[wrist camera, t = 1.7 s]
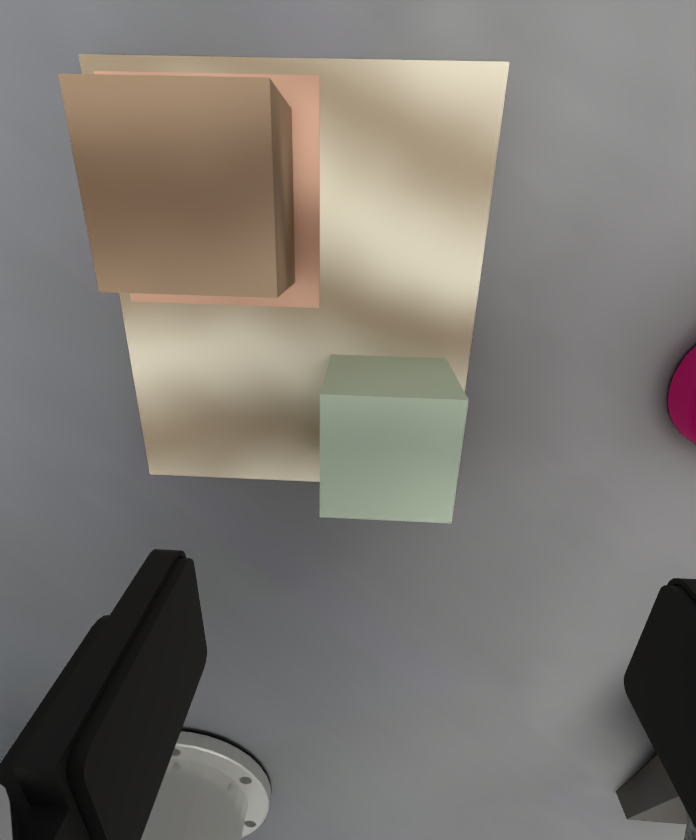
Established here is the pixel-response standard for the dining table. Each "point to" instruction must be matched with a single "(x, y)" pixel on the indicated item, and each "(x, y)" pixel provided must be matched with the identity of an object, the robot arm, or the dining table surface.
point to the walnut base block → (184, 182)
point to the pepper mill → (684, 397)
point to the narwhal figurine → (654, 798)
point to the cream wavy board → (325, 259)
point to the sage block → (390, 438)
